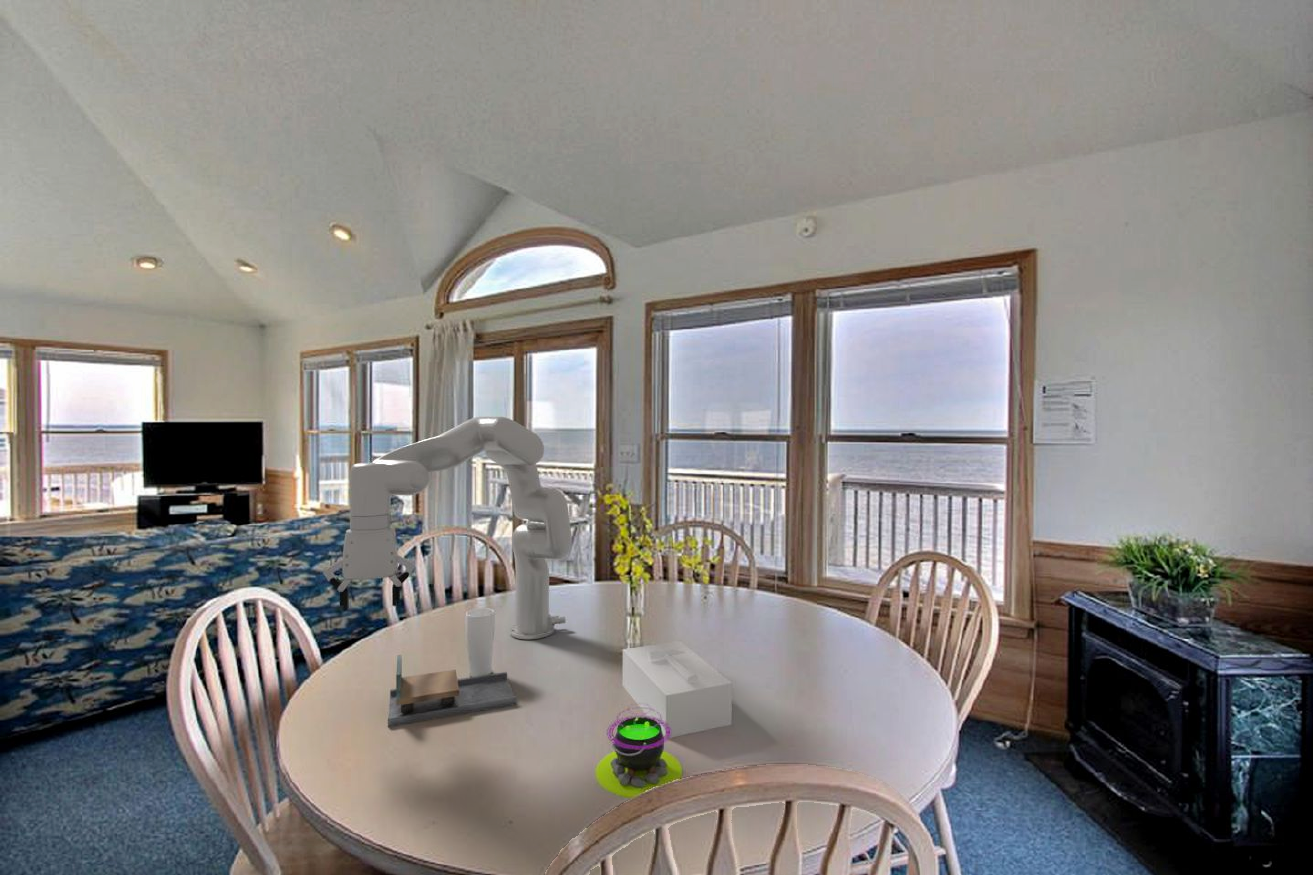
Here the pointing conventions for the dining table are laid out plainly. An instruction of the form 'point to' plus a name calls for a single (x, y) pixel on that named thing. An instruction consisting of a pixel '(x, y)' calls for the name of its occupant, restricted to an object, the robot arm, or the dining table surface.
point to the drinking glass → (479, 640)
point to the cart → (425, 688)
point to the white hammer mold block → (677, 688)
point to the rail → (458, 700)
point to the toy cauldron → (637, 757)
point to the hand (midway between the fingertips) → (370, 606)
